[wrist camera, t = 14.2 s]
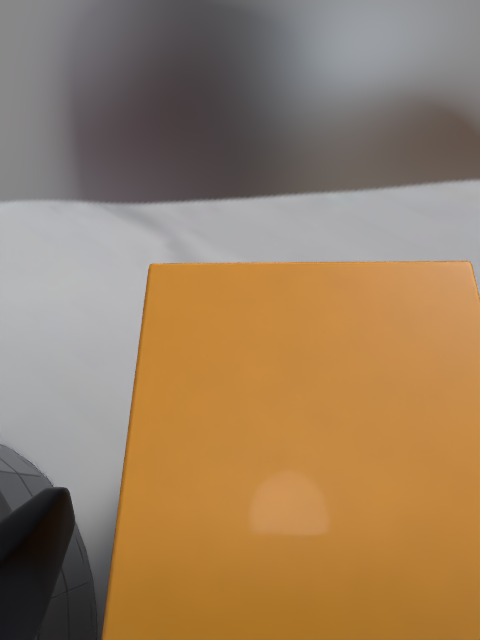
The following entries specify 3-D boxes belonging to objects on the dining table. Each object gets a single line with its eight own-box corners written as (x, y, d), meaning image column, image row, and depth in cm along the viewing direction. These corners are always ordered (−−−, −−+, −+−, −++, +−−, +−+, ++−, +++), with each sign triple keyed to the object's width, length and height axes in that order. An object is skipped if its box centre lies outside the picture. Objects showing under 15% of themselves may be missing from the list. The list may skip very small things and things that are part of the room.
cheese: (339, 559, 14) (588, 738, 3) (219, 555, 14) (89, 712, 3) (330, 424, 16) (472, 259, 5) (224, 423, 16) (147, 261, 5)
